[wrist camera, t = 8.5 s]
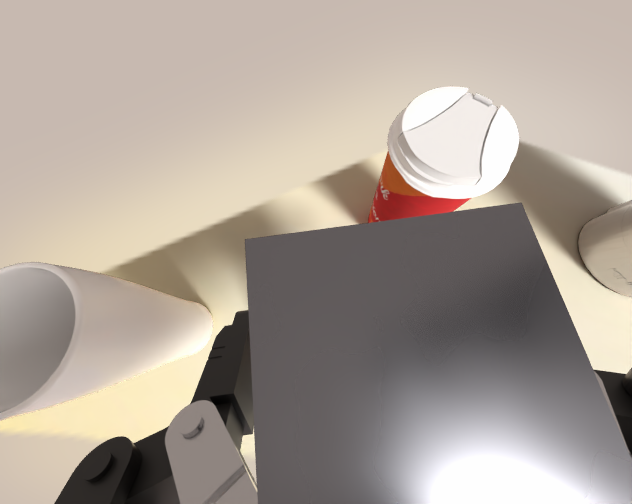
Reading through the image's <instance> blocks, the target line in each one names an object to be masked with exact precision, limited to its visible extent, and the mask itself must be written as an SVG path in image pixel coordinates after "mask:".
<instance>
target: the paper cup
mask: <svg viewBox="0 0 632 504" xmlns="http://www.w3.org/2000/svg"><path fill="white" fill-rule="evenodd" d="M468 89H469V88H465V87H456V86H447V87H440V88H435V89H432V90H429V91H426V92H424V93H422V94H421V95H419V96H418V97H417V98H415V99H414V100H413V101H412V102H411V103H409V105H408V106H407V107H406V108H405V109H404V110H403V111H402V112H401V113H400V114H399V115H398V116H397V117H396V119H395V120H394V121H393V123H392V125H391V127H390V130H389V134H388V153H387V156H386V160H385V163H384V166H383V169H382V173H381V176H380V179H379V183H378V186H377V190H376V193H375V196H374V200H373V203H372V207H371V210H370V214H369V219H368V223H372V222H380V221H387V220H395V219H402V218H410V217H417V216H425V215H432V214H440V213H447V212H453V211H454V210H455V209H457V208H458V207H460V206H461V205H462V204H464V203H465V202H467V201H468V200H469V199H471V198H472V197H476V196H479V195H482V194H485V193H487V192H488V191H490V190H492V189H493V188H495V187H496V186H497V185H498V184H500V183H501V181H502V180H503V179H504V178H505V176H506V174H507V173H508V171H509V168H510V165H511V163H512V161H513V159H514V157H515V156H516V153H517V150H518V146H519V133H518V129H517V126H516V123H515V121H514V119H513V117H512V116H511V114H510V113H509V112H508V111H507V109H505V108H504V106H503V105H501V106H500V107H499V109H498V110H497V111H496V109H497V106H494V105H493V104H491V103H492V102H493V101H492V100H491V99H489V98H486V97H485V96H482V95H480V94H478V93H476V94H475V95H473V94H471V93H469V92H468V93H467V91H468ZM466 93H467V94H466ZM490 105H491V106H490Z"/></svg>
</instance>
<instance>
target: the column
mask: <svg viewBox="0 0 632 504" xmlns="http://www.w3.org/2000/svg"><path fill="white" fill-rule="evenodd" d="M245 250H246V270H247V291H248V311H249V332H250V352H251V373H252V394H253V414H254V435H255V455H256V475H257V496H258V504H632V459H631V457H630V455H629V452H628V450H627V448H626V445H625V443H624V441H623V438H622V436H621V434H620V431H619V429H618V427H617V424H616V422H615V420H614V417H613V415H612V413H611V410H610V408H609V406H608V403H607V401H606V399H605V396H604V394H603V392H602V389H601V387H600V385H599V382H598V380H597V378H596V375H595V373H594V371H593V368H592V366H591V364H590V361H589V359H588V357H587V354H586V352H585V350H584V347H583V345H582V343H581V340H580V338H579V336H578V333H577V331H576V329H575V326H574V324H573V322H572V319H571V317H570V315H569V312H568V310H567V308H566V305H565V303H564V301H563V298H562V296H561V294H560V292H559V289H558V287H557V285H556V282H555V280H554V278H553V275H552V273H551V271H550V268H549V266H548V264H547V261H546V259H545V257H544V254H543V252H542V250H541V247H540V245H539V243H538V240H537V238H536V236H535V233H534V231H533V229H532V226H531V224H530V222H529V219H528V217H527V215H526V212H525V210H524V208H523V205H522V203H515V204H507V205H500V206H492V207H485V208H477V209H470V210H462V211H455V212H447V213H440V214H432V215H425V216H417V217H410V218H402V219H395V220H387V221H380V222H372V223H365V224H357V225H350V226H342V227H335V228H327V229H319V230H312V231H304V232H297V233H289V234H282V235H274V236H267V237H259V238H252V239H245Z"/></svg>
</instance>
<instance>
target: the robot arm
mask: <svg viewBox="0 0 632 504" xmlns="http://www.w3.org/2000/svg"><path fill="white" fill-rule="evenodd" d="M578 243H579V251H580V254H581V258H582V260H583V262H584V263H585V265H586V267H587V268H588V270H589V271H590V272H591V274H592V275H593V276H594V277H595V278H596V279H597V280H599V281H600V282H601V283H602V284H604V285H605V286H606V287H608V288H609V289H611V290H613V291H615V292H617V293H619V294H622V295H626V296H629V297H632V200H630V201H628V202H625V203H623V204H620V205H618V206H615V207H613V208H610V209H609V210H608V211H607V213H606V214H604V215H601V216H599V217H596V218H594V219H592V220H590V221H589V222H588V223H587V224H586V225H585V226H584V227H583V228H582V230H581V232H580V235H579V240H578ZM593 371H594V373H595V375H596V378H597V380H598V382H599V385H600V387H601V389H602V392H603V394H604V396H605V399H606V401H607V403H608V406H609V408H610V410H611V413H612V415H613V417H614V420H615V422H616V424H617V427H618V429H619V431H620V434H621V436H622V438H623V441H624V443H625V445H626V448H627V450H628V452H629V455H630V457H631V459H632V368H631V369H630V371H629V372H628V373H627V374H621V373H614V372H606V371H599V370H593ZM253 428H254V414H253V394H252V373H251V352H250V332H249V311H248V310H246V311H239V312H237V313H236V315H235V318H234V321H233V324H232V325H229V326H225V327H224V328H223V329H222V330H221V331H220V333H219V334H218V335H217V336H216V338H215V341H214V344H213V346H212V350H211V352H210V354H209V357H208V360H207V362H206V365H205V368H204V370H203V373H202V376H201V378H200V381H199V383H198V386H197V389H196V391H195V394H194V397H193V399H192V401H191V403H190V404H189V405H188V406H186V407H185V408H184V409H182V410H181V411H180V412H179V413H178V414H177V415H176V416H175V418H174V419H173V420H172V422H171V423H170V425H169V426H168V427H167V428H165V429H163V430H161V431H159V432H157V433H155V434H153V435H150V436H148V437H146V438H144V439H142V440H140V441H138V442H136V443H132V442H131V441H130V440H129V439H128V438H126V437H122V436H121V437H115V438H112V439H110V440H107V441H105V442H104V443H102V444H100V445H99V446H98V447H96V448H95V449H94V450H93V451H91V452H90V453H89V454H88V455H87V456H86V457H85V458H84V459H83V460H82V461H81V463H80V464H79V465H78V466H77V468H76V469H75V471H74V472H73V473H72V475H71V477H70V479H69V480H68V482H67V483H66V485H65V487H64V489H63V490H62V492H61V494H60V495H59V497H58V499H57V500H56V502H55V504H258V496H257V484H256V482H255V480H254V478H253V476H252V474H251V472H250V470H249V468H248V466H247V464H246V462H245V460H244V458H243V456H242V454H241V452H240V448H241V442H242V436H243V435H249V434H253Z"/></svg>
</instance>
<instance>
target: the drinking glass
mask: <svg viewBox="0 0 632 504" xmlns="http://www.w3.org/2000/svg"><path fill="white" fill-rule="evenodd" d="M212 332H213V319H212V316H211V314H210V312H209V310H208V309H207V308H206V307H205V306H203V305H202V304H200V303H197V302H193V301H187V300H184V299H181V298H178V297H175V296H172V295H169V294H166V293H163V292H160V291H157V290H154V289H151V288H148V287H145V286H142V285H139V284H136V283H133V282H130V281H127V280H124V279H120V278H117V277H113V276H109V275H105V274H101V273H96V272H91V271H87V270H81V269H76V268H70V267H64V266H58V265H52V264H47V263H40V262H27V263H19V264H15V265H11V266H7V267H4V268H1V269H0V421H1V420H4V419H8V418H12V417H16V416H20V415H24V414H27V413H31V412H35V411H39V410H42V409H46V408H49V407H53V406H56V405H60V404H63V403H66V402H70V401H73V400H76V399H79V398H82V397H85V396H88V395H91V394H94V393H96V392H99V391H102V390H104V389H107V388H109V387H112V386H114V385H117V384H119V383H122V382H124V381H127V380H129V379H132V378H134V377H136V376H139V375H141V374H144V373H146V372H148V371H151V370H153V369H156V368H158V367H161V366H163V365H166V364H168V363H171V362H173V361H176V360H178V359H181V358H185V357H188V356H191V355H194V354H196V353H197V352H199V351H200V350H201V349H203V348H204V347H205V345H206V344H207V343H208V341H209V340H210V337H211V335H212Z"/></svg>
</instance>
